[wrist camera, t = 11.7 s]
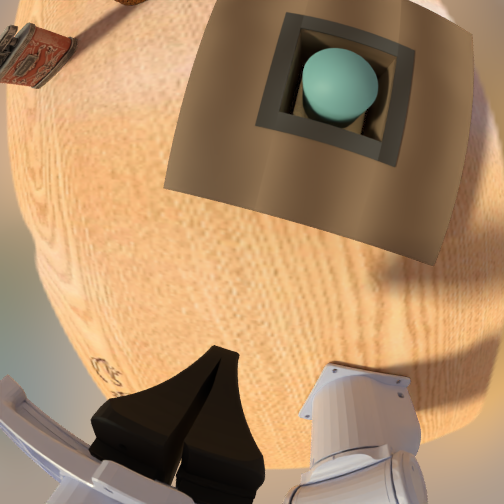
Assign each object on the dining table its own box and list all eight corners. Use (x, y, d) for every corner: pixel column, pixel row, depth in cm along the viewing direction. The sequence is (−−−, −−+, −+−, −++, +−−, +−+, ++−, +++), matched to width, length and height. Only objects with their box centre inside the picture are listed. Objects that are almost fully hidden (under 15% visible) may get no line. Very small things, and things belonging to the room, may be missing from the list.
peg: (364, 86, 15) (382, 62, 11) (353, 137, 17) (371, 125, 12) (309, 70, 16) (310, 40, 11) (296, 120, 17) (295, 102, 12)
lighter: (36, 95, 20) (-28, 90, 11) (34, 76, 19) (-26, 68, 10) (79, 51, 18) (11, 30, 9) (76, 33, 17) (13, 11, 8)
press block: (439, 59, 14) (472, 34, 8) (402, 241, 19) (434, 267, 13) (249, 4, 15) (232, -36, 9) (199, 183, 20) (162, 188, 15)
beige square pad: (369, 86, 16) (370, 84, 15) (356, 145, 17) (358, 144, 17) (304, 67, 16) (305, 65, 16) (290, 126, 18) (290, 124, 17)
